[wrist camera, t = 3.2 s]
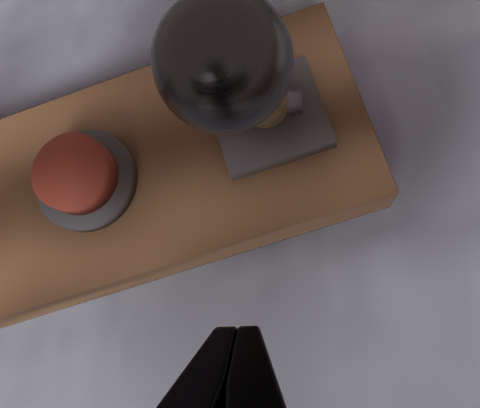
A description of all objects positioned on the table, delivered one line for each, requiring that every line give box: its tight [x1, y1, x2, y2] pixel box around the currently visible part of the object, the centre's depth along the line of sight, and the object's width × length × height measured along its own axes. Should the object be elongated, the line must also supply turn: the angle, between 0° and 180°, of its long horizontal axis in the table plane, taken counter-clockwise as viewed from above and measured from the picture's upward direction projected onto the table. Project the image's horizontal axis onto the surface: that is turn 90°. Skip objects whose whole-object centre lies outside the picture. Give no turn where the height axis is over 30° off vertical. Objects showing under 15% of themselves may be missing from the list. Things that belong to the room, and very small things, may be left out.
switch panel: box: [0, 2, 398, 328], centre depth 20 cm, size 9×24×4 cm, turn 106°
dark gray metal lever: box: [151, 0, 303, 135], centre depth 13 cm, size 3×3×11 cm
